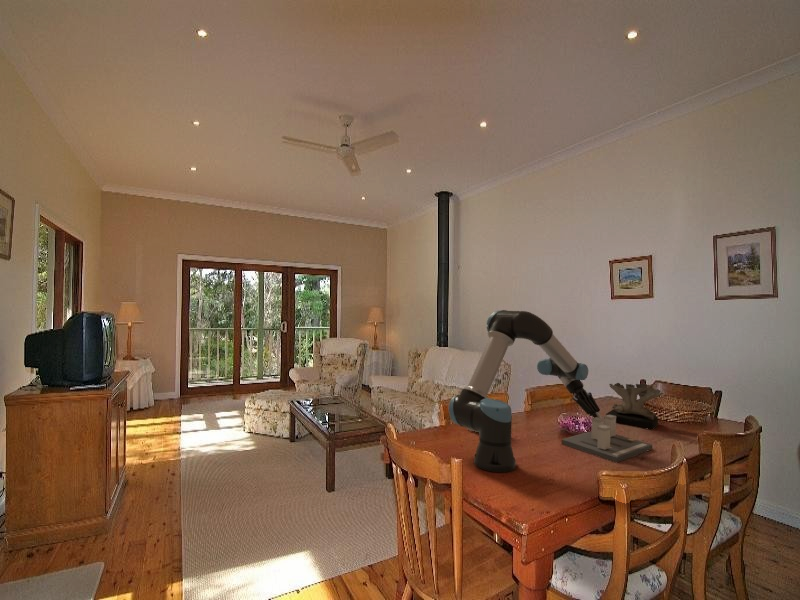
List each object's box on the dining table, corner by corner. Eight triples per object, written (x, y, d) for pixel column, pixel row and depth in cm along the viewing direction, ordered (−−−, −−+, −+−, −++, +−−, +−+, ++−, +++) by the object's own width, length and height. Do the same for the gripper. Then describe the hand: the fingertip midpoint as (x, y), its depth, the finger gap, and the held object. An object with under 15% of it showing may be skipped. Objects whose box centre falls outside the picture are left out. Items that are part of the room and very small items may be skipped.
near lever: (604, 449, 163) (605, 428, 164) (597, 447, 166) (597, 426, 166) (610, 448, 166) (610, 426, 166) (602, 445, 168) (603, 424, 168)
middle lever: (598, 440, 175) (598, 420, 175) (591, 438, 178) (591, 418, 178) (603, 438, 177) (603, 418, 178) (596, 436, 180) (596, 416, 180)
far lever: (610, 437, 180) (611, 417, 180) (603, 434, 182) (604, 415, 182) (616, 435, 182) (616, 416, 182) (609, 433, 185) (609, 414, 185)
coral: (666, 425, 206) (666, 383, 207) (656, 434, 192) (657, 389, 192) (612, 415, 224) (613, 376, 224) (600, 423, 209) (601, 381, 209)
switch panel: (616, 462, 157) (616, 457, 157) (561, 443, 177) (561, 439, 177) (652, 449, 172) (652, 444, 172) (597, 433, 192) (598, 429, 192)
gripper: (574, 385, 204) (606, 428, 191) (559, 388, 197) (590, 432, 183) (585, 377, 200) (618, 419, 186) (569, 379, 193) (602, 424, 179)
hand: (604, 426), depth 185 cm, fingers closed
